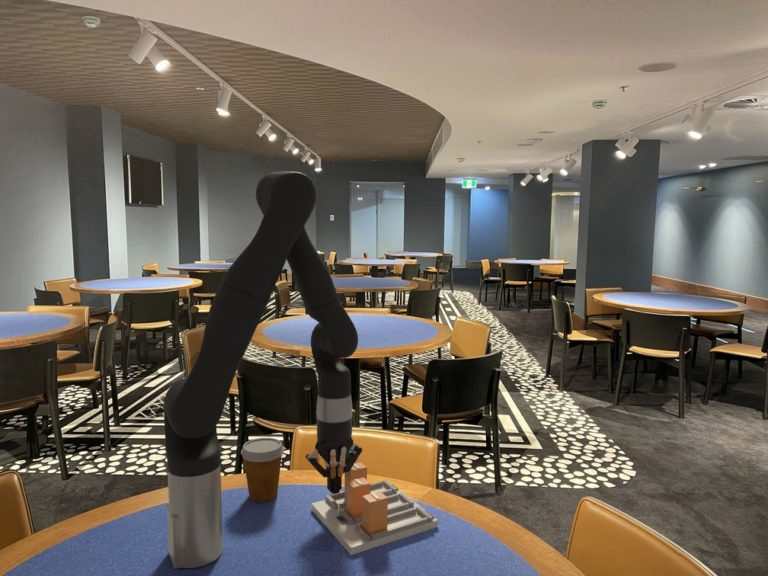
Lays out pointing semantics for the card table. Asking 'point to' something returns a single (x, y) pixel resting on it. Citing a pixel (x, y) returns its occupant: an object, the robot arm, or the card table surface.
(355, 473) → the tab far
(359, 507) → the tab mid
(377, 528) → the tab near
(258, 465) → the disposable coffee cup
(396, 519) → the switch bank
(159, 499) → the card table surface
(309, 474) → the card table surface
